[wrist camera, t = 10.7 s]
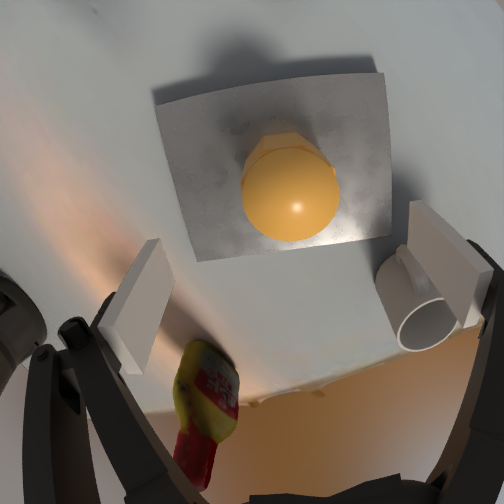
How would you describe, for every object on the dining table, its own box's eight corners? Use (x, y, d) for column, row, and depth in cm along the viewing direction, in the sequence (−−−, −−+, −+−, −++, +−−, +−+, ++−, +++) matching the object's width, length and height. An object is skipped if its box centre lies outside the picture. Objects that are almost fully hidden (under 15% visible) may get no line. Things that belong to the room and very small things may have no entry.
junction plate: (199, 254, 33) (189, 285, 28) (159, 105, 25) (137, 110, 20) (386, 229, 31) (405, 256, 26) (377, 72, 23) (402, 72, 18)
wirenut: (254, 209, 29) (251, 247, 23) (241, 140, 25) (233, 158, 19) (325, 199, 28) (342, 234, 22) (317, 129, 24) (335, 144, 18)
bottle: (173, 334, 40) (135, 472, 22) (216, 326, 38) (191, 476, 21) (210, 385, 45) (192, 502, 28) (248, 379, 44) (240, 504, 27)
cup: (379, 306, 36) (399, 360, 28) (362, 240, 31) (388, 292, 24) (430, 286, 34) (459, 335, 26) (421, 218, 30) (461, 262, 22)
